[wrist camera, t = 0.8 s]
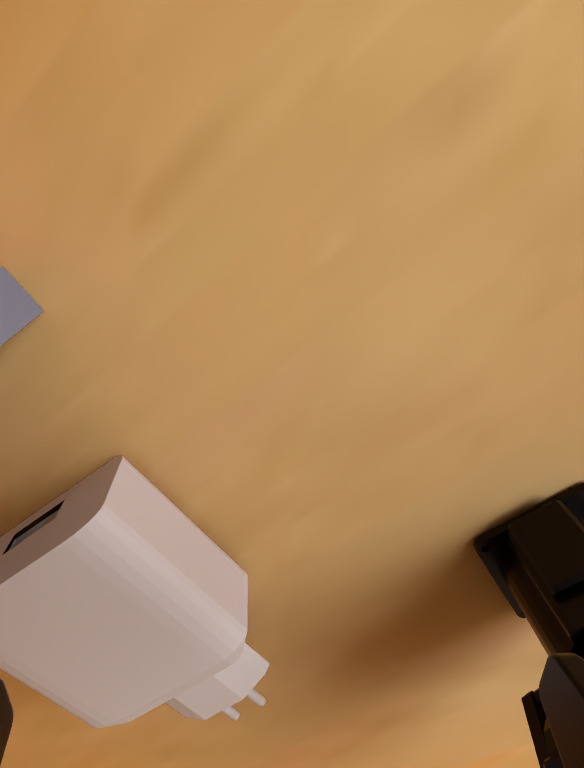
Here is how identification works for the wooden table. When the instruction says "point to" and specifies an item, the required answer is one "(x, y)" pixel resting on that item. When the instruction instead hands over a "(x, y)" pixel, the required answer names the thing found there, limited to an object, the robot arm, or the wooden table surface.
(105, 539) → the charger
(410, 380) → the wooden table surface
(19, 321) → the book row
